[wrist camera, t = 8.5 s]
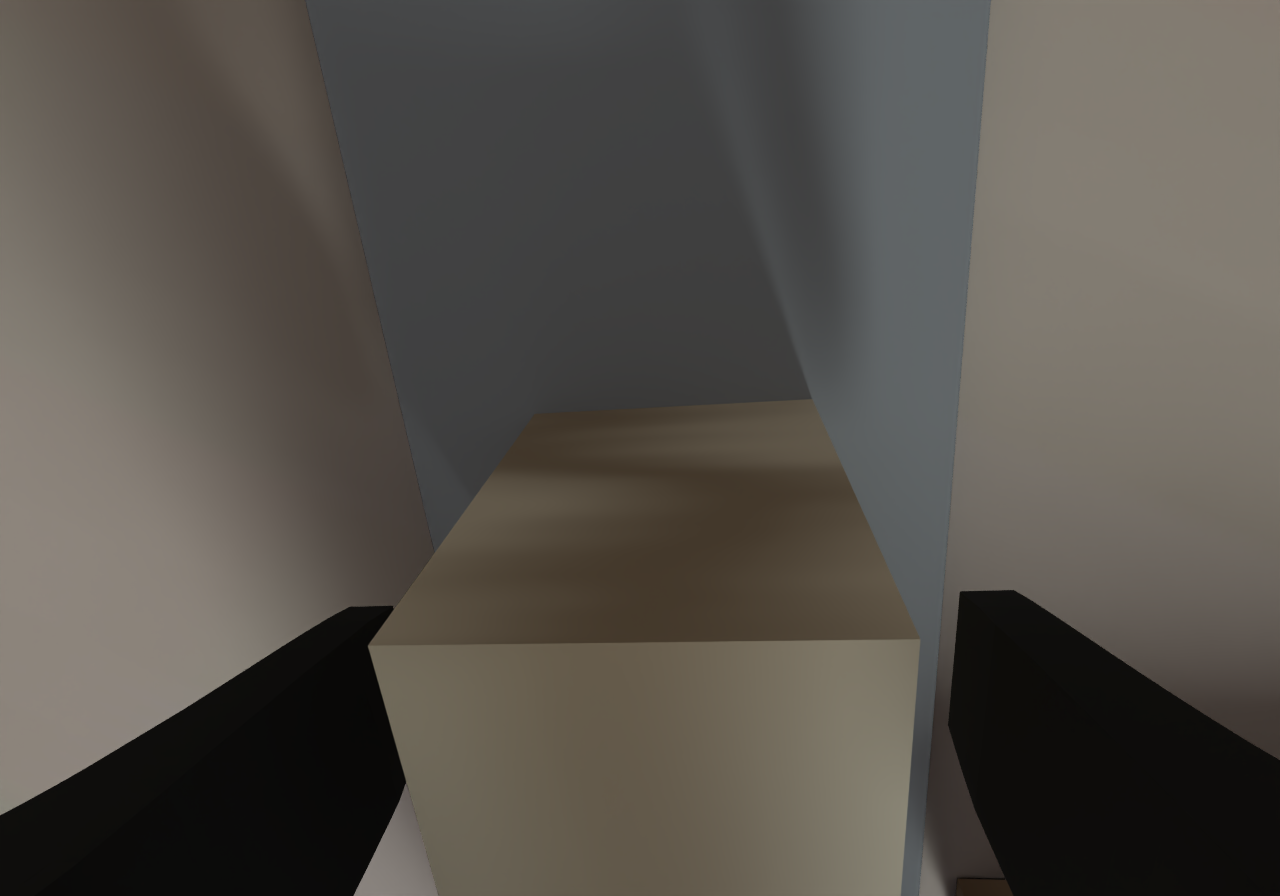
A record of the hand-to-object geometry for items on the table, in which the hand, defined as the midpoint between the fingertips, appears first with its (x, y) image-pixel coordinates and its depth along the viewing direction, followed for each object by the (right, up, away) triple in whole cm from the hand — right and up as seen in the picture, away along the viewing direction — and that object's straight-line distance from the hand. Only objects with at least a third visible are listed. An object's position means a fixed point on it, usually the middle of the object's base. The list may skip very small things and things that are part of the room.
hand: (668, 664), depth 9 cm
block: (0, +1, +3) cm, 3 cm away
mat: (0, +2, +4) cm, 4 cm away
